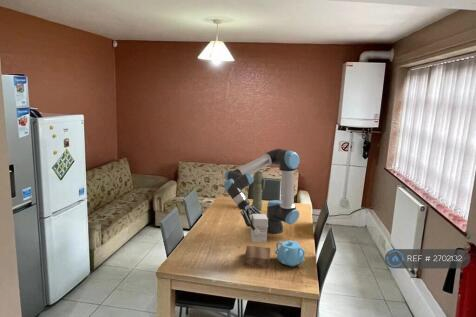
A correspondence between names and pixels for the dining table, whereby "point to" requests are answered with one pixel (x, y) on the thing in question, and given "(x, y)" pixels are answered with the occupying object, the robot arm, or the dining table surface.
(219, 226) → the dining table surface
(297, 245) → the decorative pot
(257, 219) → the supplement box
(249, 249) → the walnut block
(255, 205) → the thermos
